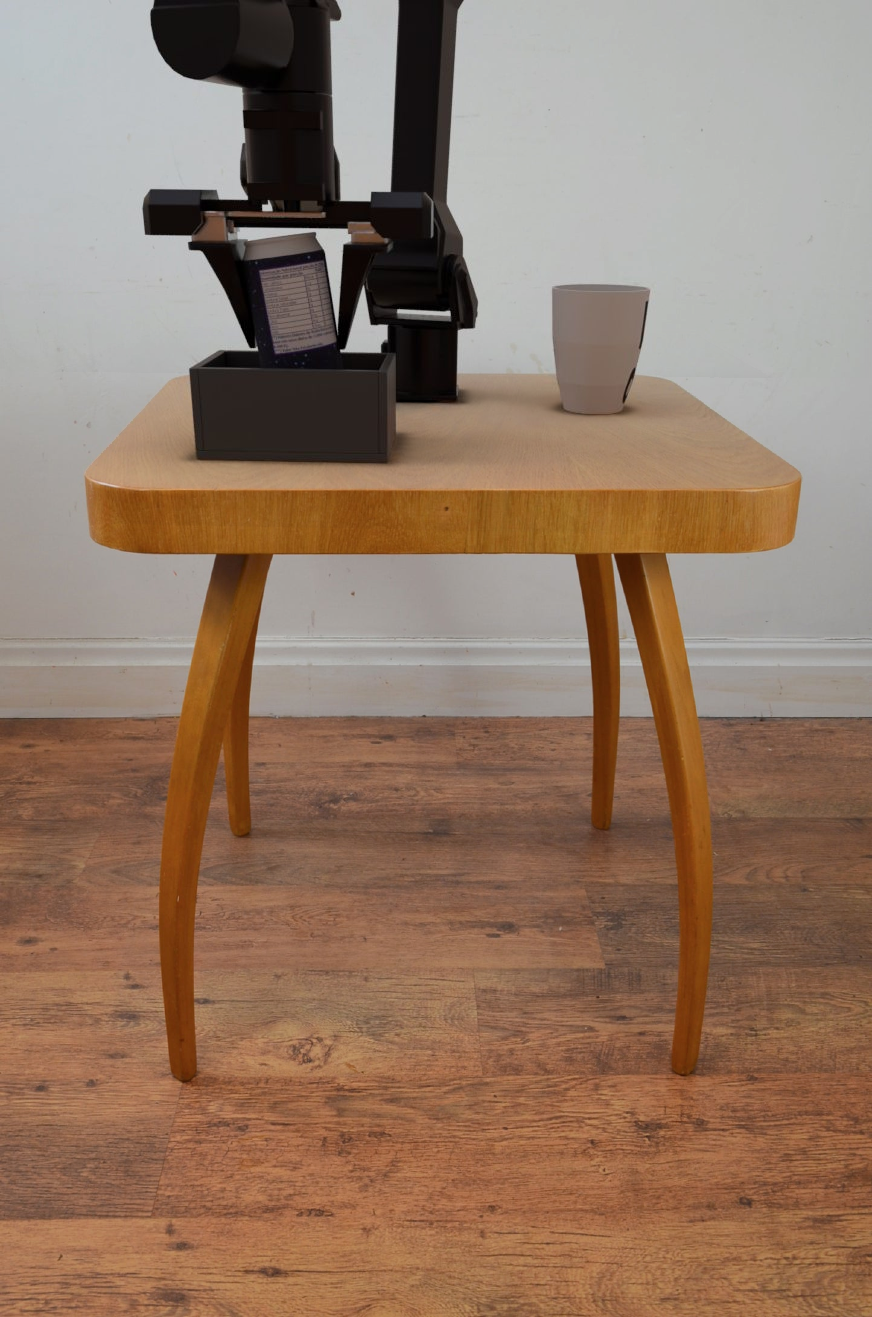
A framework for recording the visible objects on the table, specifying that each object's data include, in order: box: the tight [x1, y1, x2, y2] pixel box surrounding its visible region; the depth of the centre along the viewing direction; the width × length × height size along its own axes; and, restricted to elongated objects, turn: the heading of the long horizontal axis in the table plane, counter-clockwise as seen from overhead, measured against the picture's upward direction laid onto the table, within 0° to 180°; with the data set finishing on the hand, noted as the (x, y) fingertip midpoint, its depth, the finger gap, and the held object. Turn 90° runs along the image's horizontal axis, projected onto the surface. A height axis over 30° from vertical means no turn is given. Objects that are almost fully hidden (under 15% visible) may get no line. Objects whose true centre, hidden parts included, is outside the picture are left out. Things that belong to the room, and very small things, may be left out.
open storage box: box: [188, 349, 397, 464], centre depth 74 cm, size 13×9×6 cm
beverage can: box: [242, 231, 343, 370], centre depth 72 cm, size 6×6×12 cm
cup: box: [551, 283, 651, 415], centre depth 89 cm, size 8×8×10 cm
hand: (298, 348), depth 73 cm, fingers closed on beverage can, 6 cm apart
